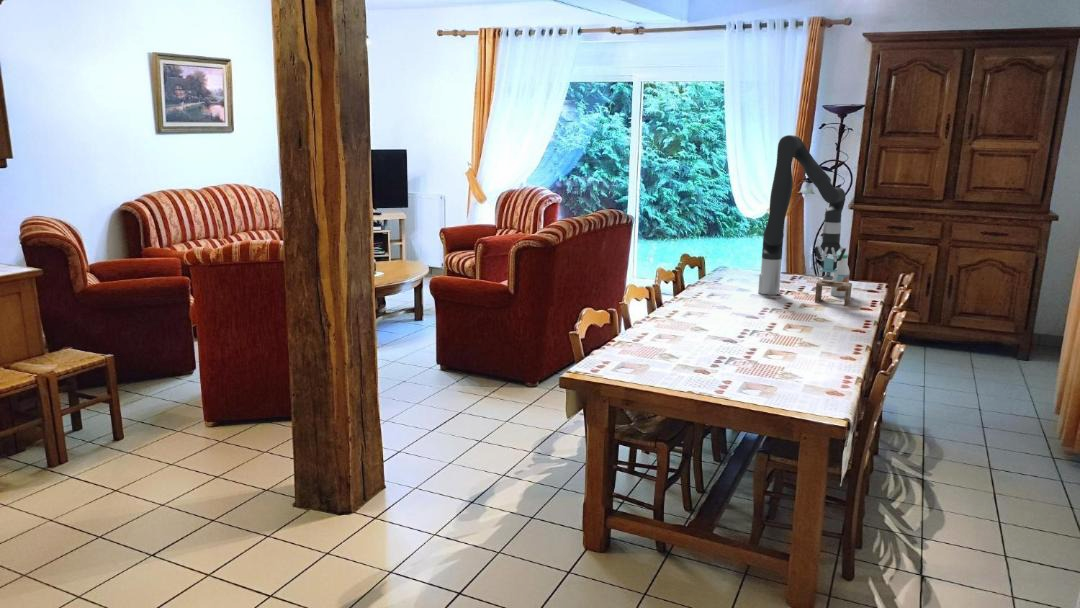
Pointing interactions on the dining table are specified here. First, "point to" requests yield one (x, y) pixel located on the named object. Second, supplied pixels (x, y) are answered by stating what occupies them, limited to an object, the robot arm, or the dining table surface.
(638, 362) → the dining table surface
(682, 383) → the dining table surface
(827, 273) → the teal peg
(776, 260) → the robot arm
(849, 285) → the brown keyhole frame
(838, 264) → the milk bottle
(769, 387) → the dining table surface
